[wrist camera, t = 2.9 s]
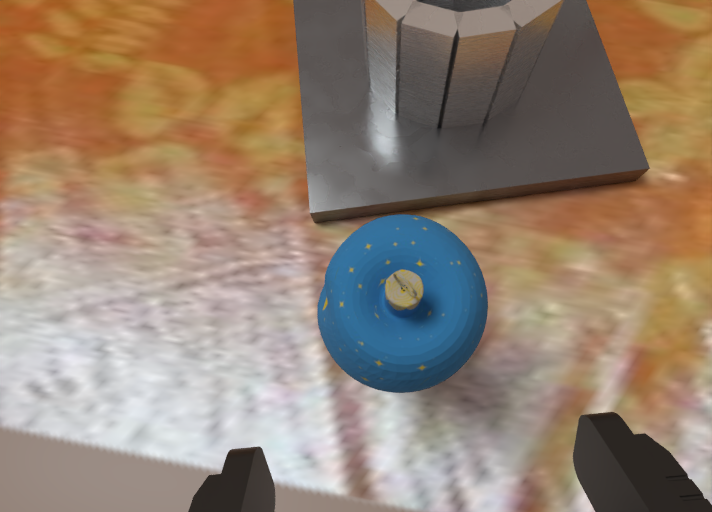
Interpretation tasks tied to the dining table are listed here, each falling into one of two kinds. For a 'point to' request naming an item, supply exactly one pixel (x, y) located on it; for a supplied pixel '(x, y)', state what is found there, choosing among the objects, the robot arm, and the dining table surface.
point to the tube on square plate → (455, 103)
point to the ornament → (402, 304)
